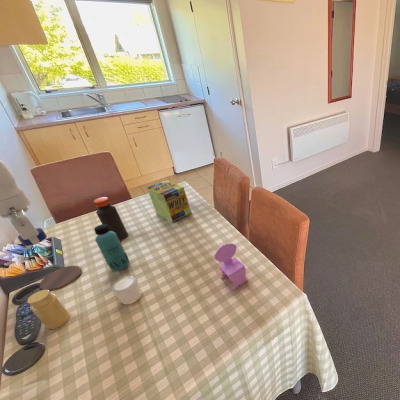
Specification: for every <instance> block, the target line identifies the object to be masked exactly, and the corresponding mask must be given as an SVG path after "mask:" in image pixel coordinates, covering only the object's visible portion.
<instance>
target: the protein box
mask: <svg viewBox="0 0 400 400" xmlns="http://www.w3.org/2000/svg"><path fill="white" fill-rule="evenodd" d="M146 189H147V192H148V195H149V197H150V200H151V203H152V205H153V208H154V211H155V214H156V213H157V214H156V215H158V214H159V215H158V216H160V217H162V218H164V219H165V220H167V221H169V222H171V223H175V222H178V221H179V220H181V219H183V218H185V217H187V216H188V214H189V215H191V214H192V210H191V206H190V203H189V200H188V197H187V193H186V190H185V187H184V186H182V185H180V184H178V183H175V182H173V181H171V180H168V179H166V180H163V181H161V182H158V183H156V184H153V185H152V184H151V185H150V186H148V187H146Z"/></svg>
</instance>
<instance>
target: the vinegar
mask: <svg viewBox="0 0 400 400" xmlns="http://www.w3.org/2000/svg"><path fill="white" fill-rule="evenodd" d="M110 201H111V200H110V199H109V197H107V196H102V197H101V196H100V197H98V198H95V199H94V200H93V203H94V206H95V207H96V208H97V209H96V211H95V213H96V215H97V217H98V219H99V221H100V224H101V225H102V224H106V225H108V227H109V228H110V231H112V232H115V233H116V235H117V237H118V239H119V241H120V242H122V241H123V240H125V239H127V238H128V236H129V233H128V231H127V229H126V226H125V225H124V222H123V221H122V218H121V217H120V214H119V212H118V210H117V208H116V206H115V205H112V204H111V202H110Z"/></svg>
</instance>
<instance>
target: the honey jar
mask: <svg viewBox="0 0 400 400" xmlns="http://www.w3.org/2000/svg"><path fill="white" fill-rule="evenodd" d="M26 301H27V304H28V305H29V309H30V311H31V312H33V314H34V315H35V317H36V318H37V319H38V320H39V321H40V322H41V323H42V325H44V327H45V328H46V329H47V330H54V329H57V328H59V327H61V326H63V325H65V324H66V323H67V321H69V320H70V318H71V314H70V313H69V312H68V311H69V310H67V309H66V307H65V306H64V304H63V303H62V302H61V301H60V300H59V298H58V297H57V295H56V294H54V293H51V291H49V290H42V289H40V290H39V291H36V292H34V293H33V294H31V295H30V296H29V297H28V298H27V300H26Z"/></svg>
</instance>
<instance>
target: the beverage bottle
mask: <svg viewBox="0 0 400 400" xmlns="http://www.w3.org/2000/svg"><path fill="white" fill-rule="evenodd" d="M94 232H95V235H97V236H96V237H95V241H94V242H95V243H96V245H97V246H98V248H99V251H100V252H101V254H102V257H103V259H104V260H105V262H106V264H107V266H108V268H109V269H110V270H111V271H112V272H118V271H121V270H123V269H125V268H127V267H128V266H129V265H130V259H129V256H128V254H127V253H126V251H125V248H124V247H123V245H122V243H121V241H119V239H118V237H117V235H116V233H115V232H112V231H110V228H109V227H108V225H106V224H102V223H101V224H98V225H97V226H95V227H94Z"/></svg>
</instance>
